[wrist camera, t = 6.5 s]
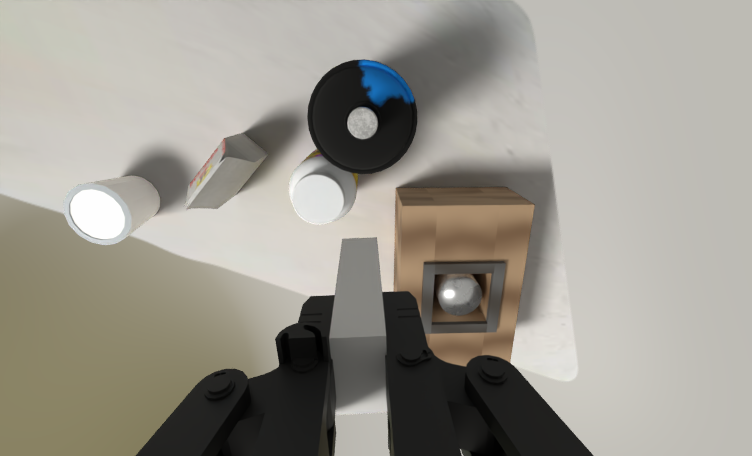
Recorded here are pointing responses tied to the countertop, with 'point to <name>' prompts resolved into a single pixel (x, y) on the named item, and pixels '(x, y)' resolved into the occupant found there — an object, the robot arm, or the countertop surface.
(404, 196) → the socket block
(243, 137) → the grey boxy piece
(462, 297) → the peg
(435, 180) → the countertop surface
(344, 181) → the supplement bottle
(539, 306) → the countertop surface
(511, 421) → the robot arm
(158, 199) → the white cup
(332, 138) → the aerosol can
